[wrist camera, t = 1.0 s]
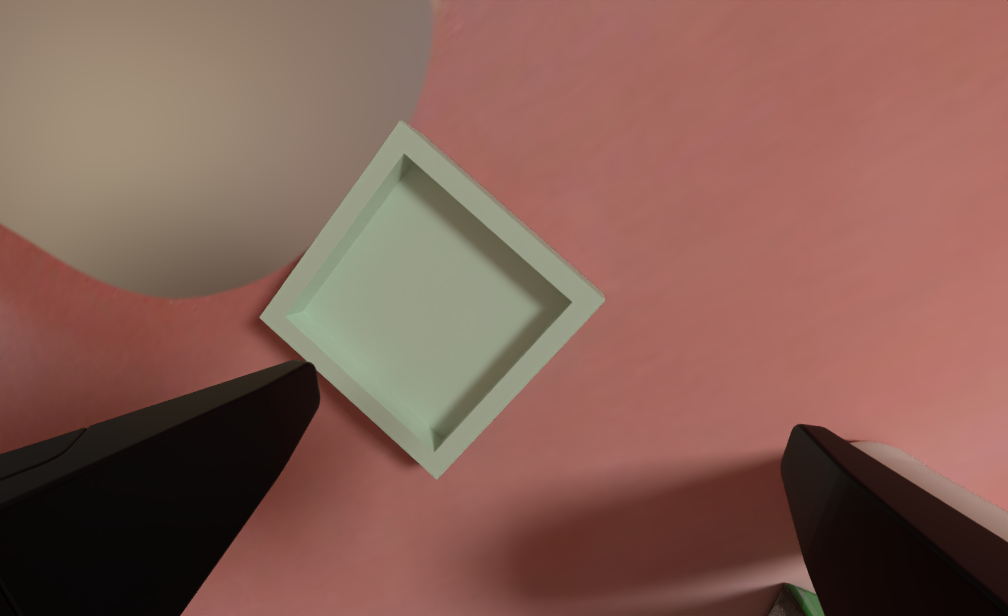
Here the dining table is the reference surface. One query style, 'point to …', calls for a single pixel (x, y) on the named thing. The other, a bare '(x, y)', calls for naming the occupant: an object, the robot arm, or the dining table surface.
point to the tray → (428, 301)
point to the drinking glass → (939, 486)
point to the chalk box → (796, 603)
